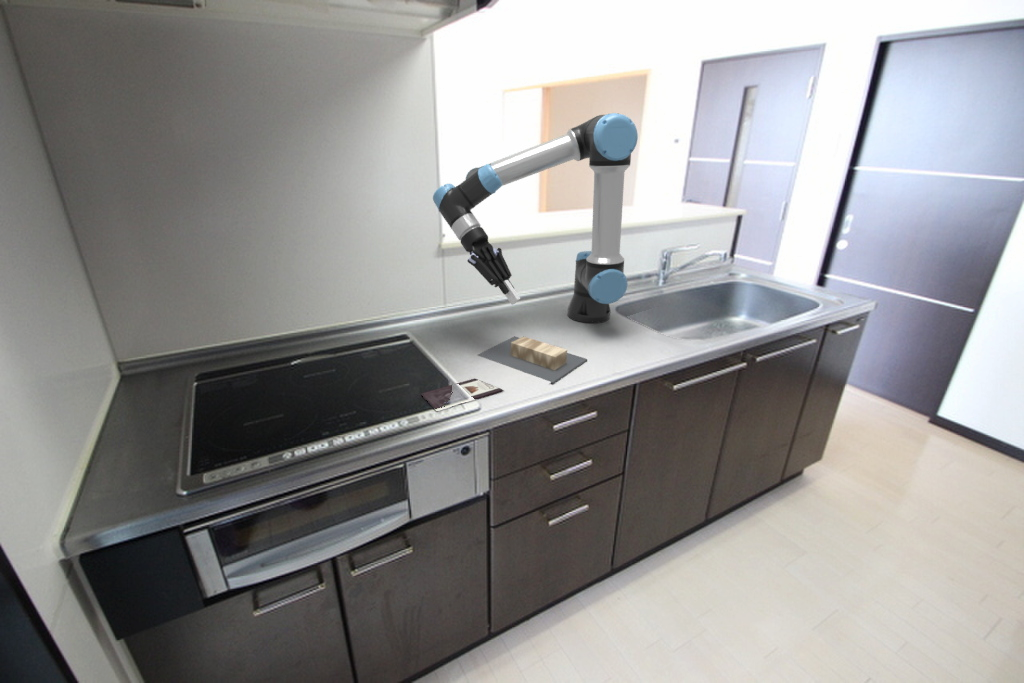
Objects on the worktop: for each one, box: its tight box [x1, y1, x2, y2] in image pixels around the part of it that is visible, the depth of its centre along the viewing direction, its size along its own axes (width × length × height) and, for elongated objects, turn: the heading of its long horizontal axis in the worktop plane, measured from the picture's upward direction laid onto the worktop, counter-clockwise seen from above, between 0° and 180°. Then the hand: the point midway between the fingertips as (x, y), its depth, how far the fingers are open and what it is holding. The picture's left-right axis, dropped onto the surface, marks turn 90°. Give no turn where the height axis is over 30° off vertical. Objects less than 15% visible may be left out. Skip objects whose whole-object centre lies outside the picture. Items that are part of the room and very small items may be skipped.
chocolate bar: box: [420, 377, 504, 409], centre depth 118 cm, size 9×1×18 cm
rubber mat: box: [477, 336, 588, 385], centre depth 137 cm, size 26×18×1 cm
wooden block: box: [511, 335, 568, 370], centre depth 134 cm, size 4×6×15 cm
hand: (516, 301), depth 133 cm, fingers closed
